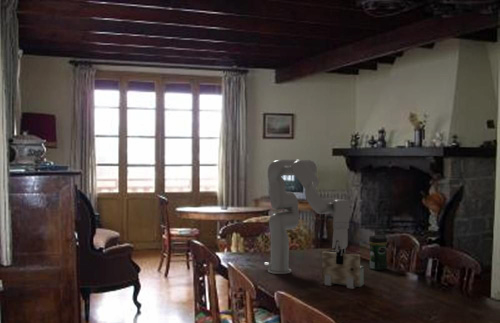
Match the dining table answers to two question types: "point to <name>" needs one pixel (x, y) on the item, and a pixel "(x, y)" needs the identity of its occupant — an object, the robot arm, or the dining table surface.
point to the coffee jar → (378, 252)
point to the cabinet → (349, 280)
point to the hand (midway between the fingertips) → (340, 263)
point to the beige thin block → (341, 267)
